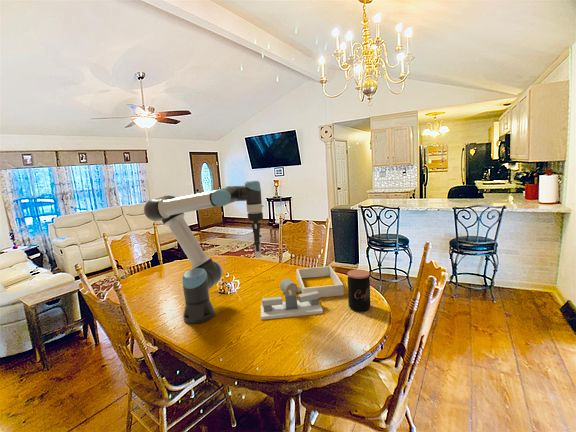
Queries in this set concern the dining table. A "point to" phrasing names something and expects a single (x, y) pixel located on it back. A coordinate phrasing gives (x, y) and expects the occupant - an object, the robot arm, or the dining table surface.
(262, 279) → the dining table surface
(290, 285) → the ceramic mug
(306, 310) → the white base plate
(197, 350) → the dining table surface
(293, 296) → the dark grey block
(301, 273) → the tray
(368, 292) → the coffee jar
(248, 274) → the dining table surface
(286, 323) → the dining table surface
